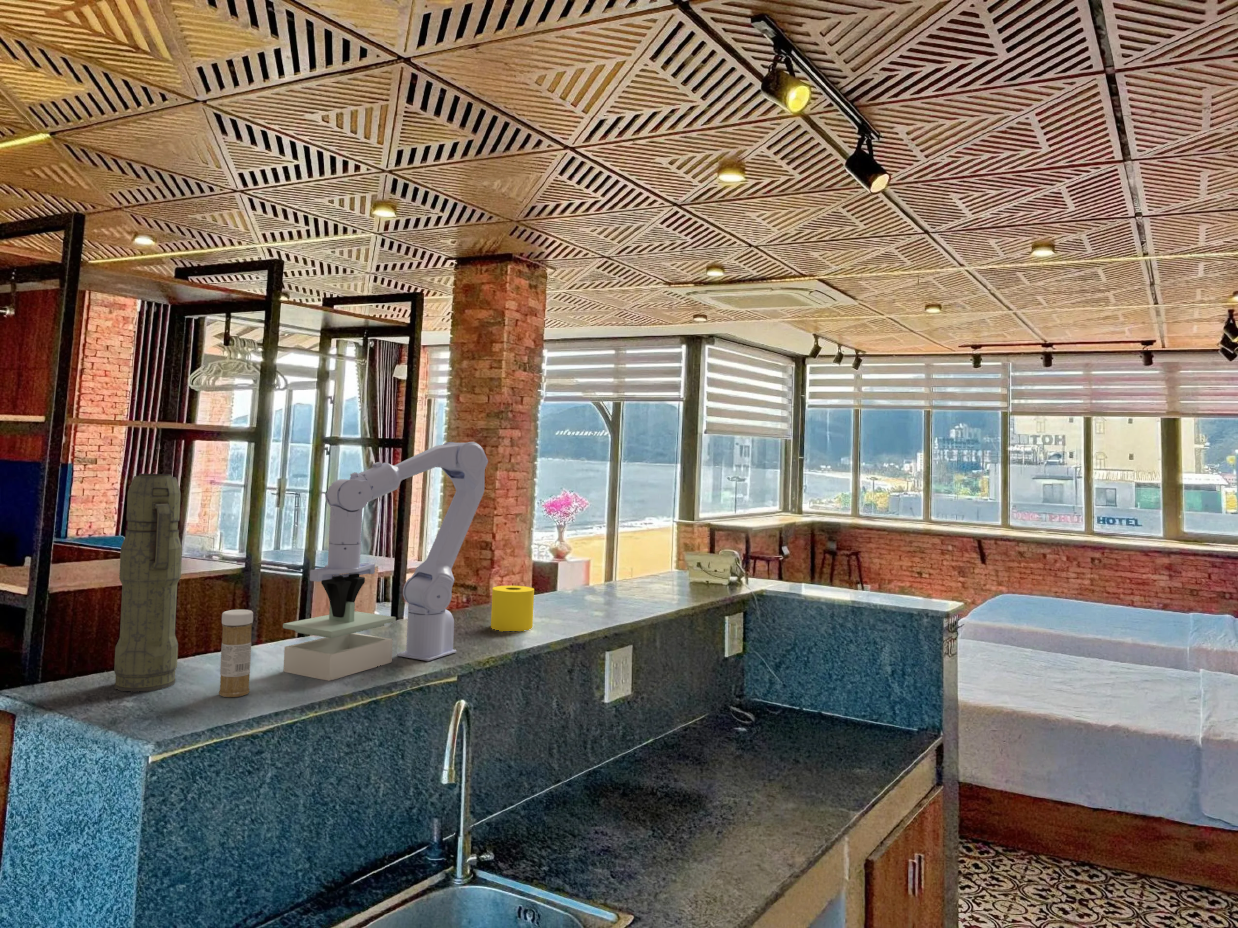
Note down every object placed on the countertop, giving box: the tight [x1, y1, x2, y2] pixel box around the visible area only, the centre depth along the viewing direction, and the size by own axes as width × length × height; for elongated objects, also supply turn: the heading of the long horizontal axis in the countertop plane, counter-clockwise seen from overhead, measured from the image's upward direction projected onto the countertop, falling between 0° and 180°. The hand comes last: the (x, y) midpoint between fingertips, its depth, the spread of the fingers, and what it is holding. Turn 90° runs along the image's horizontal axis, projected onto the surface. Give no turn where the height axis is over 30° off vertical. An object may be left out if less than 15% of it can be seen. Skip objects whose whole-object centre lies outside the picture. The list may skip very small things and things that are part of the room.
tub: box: [283, 632, 394, 682], centre depth 147 cm, size 16×11×4 cm
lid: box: [282, 601, 397, 638], centre depth 147 cm, size 17×12×5 cm
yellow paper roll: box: [490, 585, 535, 632], centre depth 190 cm, size 10×10×9 cm
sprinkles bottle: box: [218, 609, 254, 698], centre depth 128 cm, size 5×5×14 cm
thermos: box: [113, 473, 183, 693], centre depth 131 cm, size 9×12×35 cm
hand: (341, 615), depth 147 cm, fingers closed on lid
